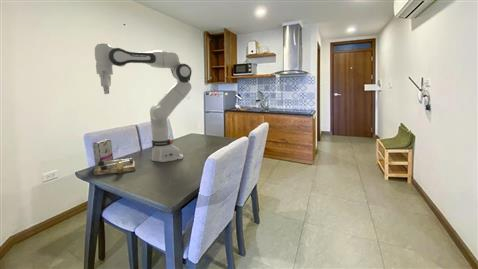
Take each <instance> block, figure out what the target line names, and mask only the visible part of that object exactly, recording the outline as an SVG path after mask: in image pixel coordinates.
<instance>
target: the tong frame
mask: <svg viewBox="0 0 478 269" xmlns="http://www.w3.org/2000/svg"><path fill="white" fill-rule="evenodd" d="M126 160H130V163H133V161H134V158H133V157H129V158H124V159H113V160H111V161H101V162H98V165H99V166H104V165H109V164H113V163H117V162H122V161H126Z"/></svg>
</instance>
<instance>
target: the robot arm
mask: <svg viewBox="0 0 478 269" xmlns="http://www.w3.org/2000/svg"><path fill="white" fill-rule="evenodd" d="M94 60H95V63H96V64H95V68H96V75H99V78H100V86H101V87H103V92H104V95H109V94H110V87H111V86H112V85H111V84H112V79H111V78H112V75H113V74H114V73H113V72H114V71H113V66H115V67H118V68H121V67H125V66H126V65H127V64H131V63H132V64H145V65H149V66H150V67H153V68H158V69H170V71H171V75H172V76H173V78H175V79H176V83H175V84H174V85H173V86H172V87H171V88H170V89H169V90H168V91H167V92H166V93H165V94H164V96H163V97H162V98H161V99H160V100H159V101H158V103H156V104H154V105H152V106H151V107H150V109H149V116H150V125H151V126H150V127H151V137H152V139H151V148H152V150H151V151H152V153H151V158H150V160H151V161H152V162H153V161H154V162H160V163H165V162H167V163H168V162H172V161H177V159H178V160H183V158H184V155H183V153H180V152H181V150H180V149H179V148H178V147H177V146H175V145H174V144H173V142H174V141H173V140H172V139H170V138H169V128H168V127H169V126H168V120H167V119H168V118H169V117H170V116H171V114H172V113H173V112H174V110H175V109H176V108H177V107H178V106H179V104H181V102H182V101H183V100H184V99H185V98H186V97H187V96H188V94H189V93H190V91H191V90H192V84H191V82H190V81H191V77H192V68H191V67H190V66H189V65H188V64H187V63H181V61H180V57H179V55H178V54H177V53H176V52H172V51H167V50H152V51H146V52H139V51H138V52H137V51H127V50H125V49H123V48H121V47H112V46H111V45H110V44H108V43H98V44H96V45H95V47H94Z"/></svg>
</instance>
